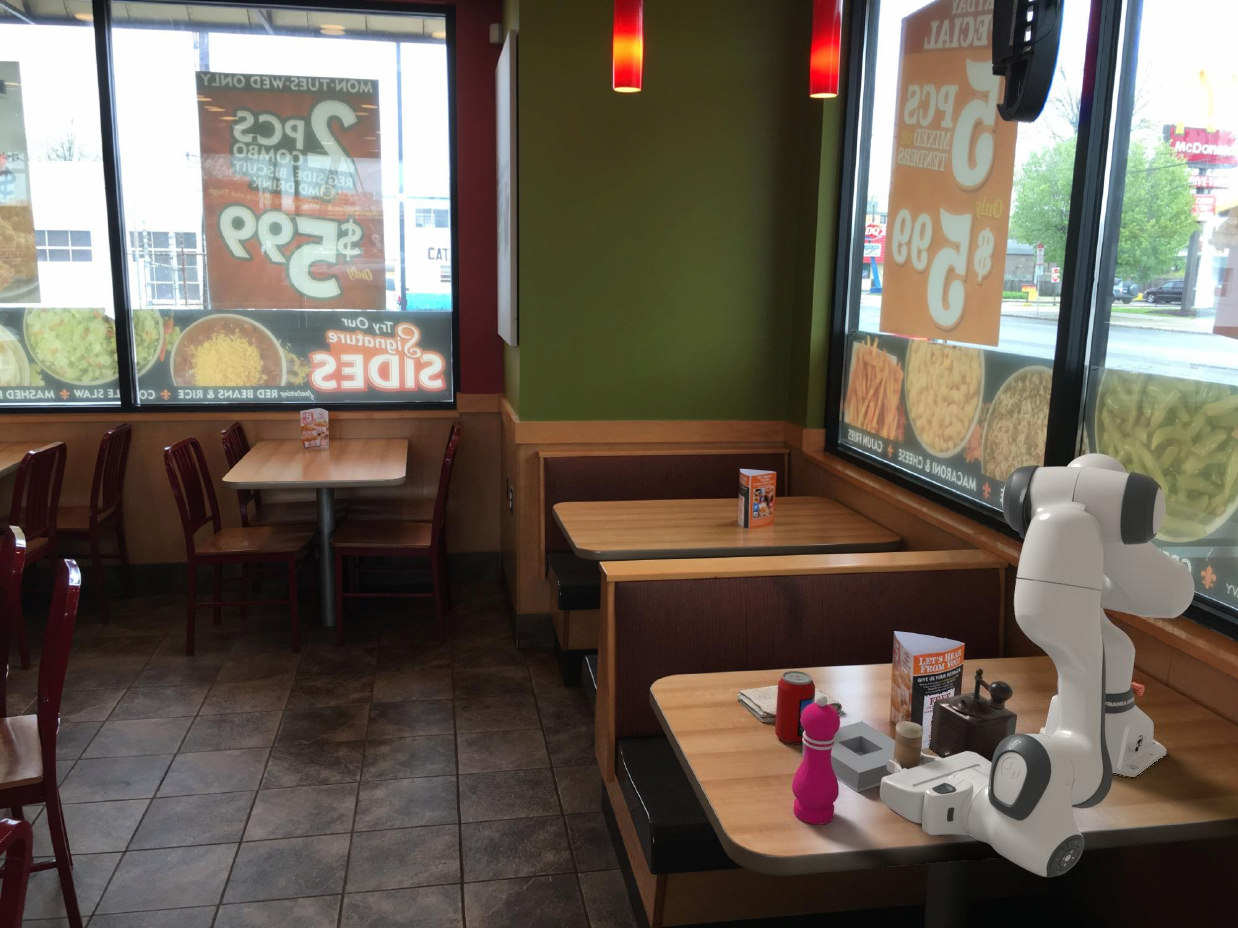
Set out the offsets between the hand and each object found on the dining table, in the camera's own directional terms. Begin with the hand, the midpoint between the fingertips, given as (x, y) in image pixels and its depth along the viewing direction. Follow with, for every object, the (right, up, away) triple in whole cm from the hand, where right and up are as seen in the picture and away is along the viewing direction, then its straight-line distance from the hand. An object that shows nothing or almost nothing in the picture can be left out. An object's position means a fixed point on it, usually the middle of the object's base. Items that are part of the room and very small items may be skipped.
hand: (902, 759), depth 152 cm
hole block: (-3, -5, +15) cm, 16 cm away
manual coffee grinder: (+19, -6, +17) cm, 26 cm away
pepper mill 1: (-15, -8, -2) cm, 17 cm away
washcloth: (-12, -1, +37) cm, 39 cm away
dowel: (0, -8, +1) cm, 8 cm away
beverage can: (-13, -3, +24) cm, 27 cm away
